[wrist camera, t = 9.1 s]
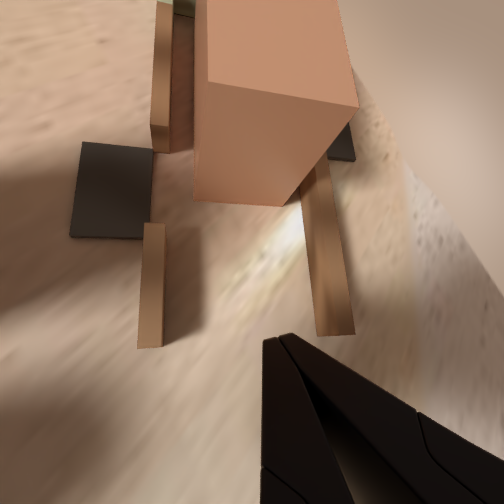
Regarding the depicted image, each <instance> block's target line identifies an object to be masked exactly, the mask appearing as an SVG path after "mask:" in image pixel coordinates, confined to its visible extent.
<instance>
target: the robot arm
mask: <svg viewBox="0 0 504 504" xmlns="http://www.w3.org/2000/svg"><path fill="white" fill-rule="evenodd" d="M260 504H504V460H502V459H500V458H498V457H496V456H494V455H493V454H491V453H489V452H487V451H485V450H484V449H482V448H480V447H478V446H476V445H474V444H473V443H471V442H469V441H467V440H466V439H464V438H462V437H461V436H459V435H457V434H456V433H454V432H452V431H451V430H449V429H447V428H445V427H444V426H442V425H440V424H439V423H437V422H436V421H434V420H432V419H431V418H429V417H427V416H426V415H424V414H423V413H421V412H417V411H416V409H414V408H413V407H411V406H410V405H408V404H406V403H405V402H403V401H402V400H400V399H398V398H397V397H395V396H393V395H392V394H390V393H389V392H387V391H385V390H384V389H382V388H381V387H379V386H377V385H376V384H374V383H373V382H371V381H369V380H368V379H366V378H365V377H363V376H361V375H360V374H358V373H357V372H355V371H353V370H352V369H350V368H348V367H347V366H345V365H344V364H342V363H340V362H339V361H337V360H336V359H334V358H332V357H331V356H329V355H328V354H326V353H324V352H323V351H321V350H320V349H318V348H316V347H315V346H313V345H311V344H310V343H308V342H307V341H305V340H303V339H302V338H300V337H299V336H297V335H295V334H294V333H287V334H283V335H280V336H279V337H278V338H277V337H272V338H268V339H265V340H263V347H262V418H261V473H260Z"/></svg>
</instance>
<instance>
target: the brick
mask: <svg viewBox="0 0 504 504" xmlns="http://www.w3.org/2000/svg"><path fill="white" fill-rule="evenodd" d="M359 108H360V107H359V103H358V98H357V93H356V88H355V83H354V79H353V74H352V69H351V64H350V60H349V55H348V50H347V45H346V41H345V36H344V31H343V27H342V22H341V17H340V12H339V7H338V3H337V0H196V8H195V25H194V201H201V202H216V203H232V204H247V205H263V206H278V207H282V206H283V205H284V204H285V202H286V201H287V200H288V199H289V197H290V196H291V195H292V193H293V192H294V191H295V190H296V188H297V187H298V186H299V184H300V183H301V182H302V181H303V179H304V178H305V177H306V176H307V174H308V173H309V172H310V170H311V169H312V168H313V167H314V165H315V164H316V163H317V161H318V160H319V159H320V158H321V156H322V155H323V154H324V152H325V151H326V150H327V149H328V147H329V146H330V145H331V144H332V142H333V141H334V140H335V138H336V137H337V136H338V135H339V133H340V132H341V131H342V129H343V128H344V127H345V126H346V124H347V123H348V122H349V120H350V119H351V118H352V117H353V115H354V114H355V113H356V112H357V110H358V109H359Z"/></svg>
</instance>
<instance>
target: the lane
mask: <svg viewBox="0 0 504 504" xmlns="http://www.w3.org/2000/svg"><path fill="white" fill-rule="evenodd" d="M195 8H196V0H157V8H156V25H155V43H154V60H153V78H152V96H151V113H150V129H151V138H152V146H153V149H149V148H139V147H130V146H120V145H111V144H101V143H92V142H82V148H81V155H80V162H79V170H78V177H77V184H76V191H75V198H74V206H73V213H72V220H71V227H70V234H69V235H70V236H71V237H80V238H116V239H143V254H142V272H141V289H140V307H139V325H138V342H137V349H141V348H157V347H163V342H164V310H165V278H166V246H167V238H166V227H165V223H150V206H151V186H152V166H153V152H159V153H169V149H170V117H171V85H172V53H173V21H174V13H175V14H180V15H184V16H189V17H193V18H195ZM328 159H334V160H343V161H352V162H354V161H355V160H356V157H355V152H354V147H353V141H352V136H351V131H350V126H349V122H348V123H347V124H346V126H345V127H344V128H343V129H342V131H341V132H340V133H339V135H338V136H337V137H336V138H335V140H334V141H333V142H332V144H331V145H330V146H329V147H328V149H327V150H326V151H325V152H324V154H323V155H322V156H321V158H320V159H319V160H318V161H317V163H316V164H315V165H314V167H313V168H312V169H311V170H310V172H309V173H308V174H307V176H306V177H305V178H304V179H303V181H302V182H301V183H300V184H299V190H300V198H301V206H302V215H303V223H304V231H305V239H306V248H307V256H308V264H309V272H310V280H311V289H312V297H313V305H314V313H315V322H316V330H317V336H340V335H356V334H355V328H354V321H353V315H352V309H351V303H350V296H349V290H348V284H347V278H346V271H345V265H344V259H343V253H342V246H341V240H340V234H339V228H338V221H337V215H336V209H335V203H334V196H333V190H332V184H331V178H330V171H329V165H328Z"/></svg>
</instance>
